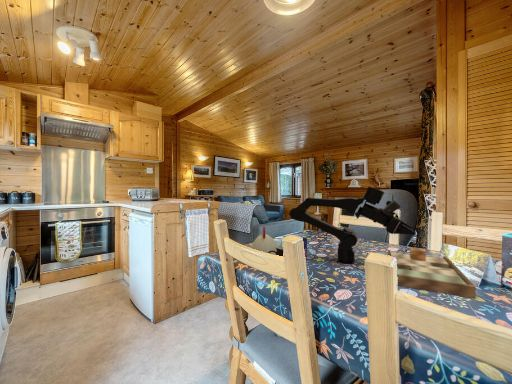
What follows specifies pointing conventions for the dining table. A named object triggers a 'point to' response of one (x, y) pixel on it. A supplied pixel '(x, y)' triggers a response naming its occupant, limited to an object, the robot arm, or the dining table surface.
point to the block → (417, 254)
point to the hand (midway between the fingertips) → (413, 230)
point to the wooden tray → (433, 275)
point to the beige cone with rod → (264, 243)
